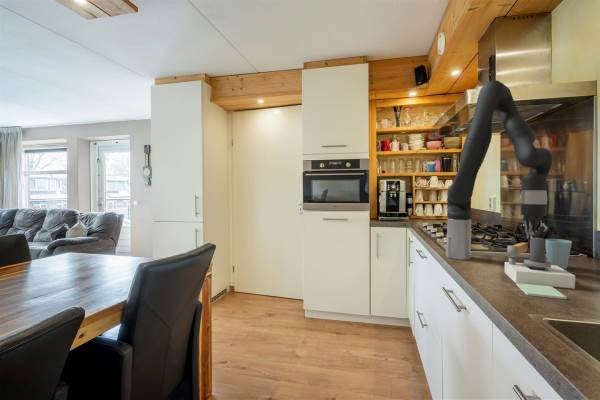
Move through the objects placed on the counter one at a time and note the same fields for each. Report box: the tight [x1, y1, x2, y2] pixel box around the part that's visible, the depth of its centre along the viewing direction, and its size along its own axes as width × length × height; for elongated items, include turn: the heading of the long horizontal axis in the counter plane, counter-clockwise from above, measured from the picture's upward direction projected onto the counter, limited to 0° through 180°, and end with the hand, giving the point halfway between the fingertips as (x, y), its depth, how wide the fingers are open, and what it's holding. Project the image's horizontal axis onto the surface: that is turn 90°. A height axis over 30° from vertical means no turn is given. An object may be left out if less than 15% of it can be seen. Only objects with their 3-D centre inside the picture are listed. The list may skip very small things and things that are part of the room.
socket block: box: [504, 257, 576, 290], centre depth 96 cm, size 15×12×6 cm
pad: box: [515, 283, 568, 300], centre depth 86 cm, size 9×9×1 cm
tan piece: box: [506, 241, 529, 258], centre depth 105 cm, size 14×3×4 cm, turn 127°
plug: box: [523, 237, 551, 271], centre depth 96 cm, size 7×7×14 cm
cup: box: [545, 238, 573, 270], centre depth 110 cm, size 8×8×10 cm
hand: (532, 249), depth 106 cm, fingers closed
